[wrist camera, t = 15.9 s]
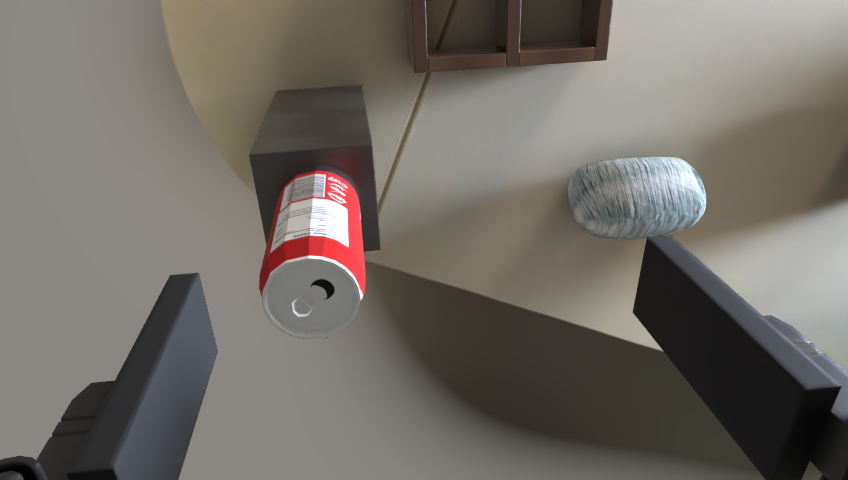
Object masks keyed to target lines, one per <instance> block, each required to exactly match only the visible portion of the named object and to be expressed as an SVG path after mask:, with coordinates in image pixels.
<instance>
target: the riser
mask: <svg viewBox="0 0 848 480" xmlns="http://www.w3.org/2000/svg"><path fill="white" fill-rule="evenodd" d="M249 157H250V162H251V167H252V172H253V177H254V183H255V188H256V193H257V198H258V203H259V208H260V214H261V219H262V223H263V229H264V234H265V239H266V244H267V242H268V238H269V234H270V230H271V226H272V222H273V217H274V213H275V209H276V205H277V201H278V198H279V196H280V193H281V191H282V189H283V186H285V185H286V184H287V183H288V182H289V181H290V180H292V179H293V178H294V177H295V176H296V175H299V174H303V173H307V172H312V171H327V172H331V173H334V174H336V175H338V176H340V177H341V178H343V179H344V180H346V181H347V182H348V183H349V184H350V185H351V186H352V187H353V188H354V190H355V192H356V194H357V197H358V199H359V205H360V216H361V228H362V240H363V252H364V251H374V250H381V242H380V230H379V218H378V206H377V194H376V182H375V170H374V158H373V147H372V140H371V134H370V129H369V123H368V117H367V111H366V106H365V100H364V94H363V88H362V85H359V86H344V87H330V88H315V89H300V90H285V91H276V93H275V95H274V97H273V100H272V102H271V104H270V107H269V109H268V112H267V114H266V116H265V119H264V121H263V123H262V126H261V128H260V130H259V133H258V135H257V138H256V140H255V142H254V145H253V147H252V149H251V152H250V154H249Z"/></svg>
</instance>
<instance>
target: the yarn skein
mask: <svg viewBox="0 0 848 480" xmlns="http://www.w3.org/2000/svg"><path fill="white" fill-rule="evenodd" d="M568 197H569V202H570V207H571V210H572V212H573V215H574V217H575V220H576V221H577V223H578V224H579V226H580V227H581V228H582V229H583V230H584V231H586V232H587V233H589V234H591V235H593V236H595V237H598V238H603V239H612V240H618V239H620V240H623V239H639V238H646V237H652V236H659V235H663V234H668V233H672V232H676V231H679V230H682V229H687V228H689V227H691V226H693V225H694V224H696V223H697V222H698V220H699V219H700V218H701V217H702V215H703V214H704V211H705V208H706V193H705V189H704V186H703V183H702V181H701V178H700V177H699V175H698V173H697V171H696V170H695V169H694V168H693V167H692V166H690V165H689V164H688V163H687V162H686V161H684V160H682V159H679V158H675V157H636V158H622V159H614V160H606V161H599V162H596V163H592V164H588V165H585V166H583V167H581V168H579V169H578V170H577V171H576V172H575V173H574V174H573V176H572V178H571V180H570V184H569V188H568Z"/></svg>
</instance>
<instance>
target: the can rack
mask: <svg viewBox="0 0 848 480" xmlns="http://www.w3.org/2000/svg"><path fill="white" fill-rule="evenodd" d="M612 7H613V0H583V3H582V14H581V25H580V36H579V41H567V42H551V43H535V44H520V23H521V0H496V43H495V46H487V47H471V48H455V49H439V50H427V24H426V0H407V20H408V40H409V61H410V65H411V67H412V69H413V70H414V72H415V73H419V72H435V71H450V70H465V69H480V68H496V67H510V66H526V65H541V64H556V63H571V62H586V61H601V60H607V51H608V42H609V34H610V25H611V16H612Z"/></svg>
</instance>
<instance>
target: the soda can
mask: <svg viewBox="0 0 848 480" xmlns="http://www.w3.org/2000/svg"><path fill="white" fill-rule="evenodd" d="M365 283H366V277H365V265H364V252H363V240H362V228H361V216H360V205H359V199H358V197H357V194H356V192H355V190H354V188H353V187H352V186H351V185H350V184H349V183H348V182H347V181H346V180H344V179H343V178H341V177H340V176H338V175H336V174H334V173H331V172H327V171H312V172H307V173H303V174H299V175H296V176H295V177H294V178H293V179H292V180H290V181H289V182H288V183H287V184H286V185H285V186H283V189H282V191H281V193H280V196H279V198H278V201H277V205H276V209H275V213H274V217H273V222H272V226H271V230H270V234H269V238H268V242H267V247H266V251H265V255H264V259H263V264H262V268H261V272H260V283H259V289H260V292H261V296H262V304H263V307H264V311H265V314H266V315H267V317H268V318H269V320H270V321H271V323H272V324H273V325H275V326H276V327H277V328H278V329H279V330H281V331H283V332H285V333H286V334H288V335H290V336H294V337H297V338H301V339H310V338H327V337H329V336H331V335H333V334H334V333H336V332H338V331H340V330H342V329H344V328H345V327H347V326H348V325H349V324H350V323H351V322H352V321H353V320H354V318H355V317H356V314H357V312H358V310H359V307H360V302H361V299H362V297H363V295H364V291H365Z"/></svg>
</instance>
